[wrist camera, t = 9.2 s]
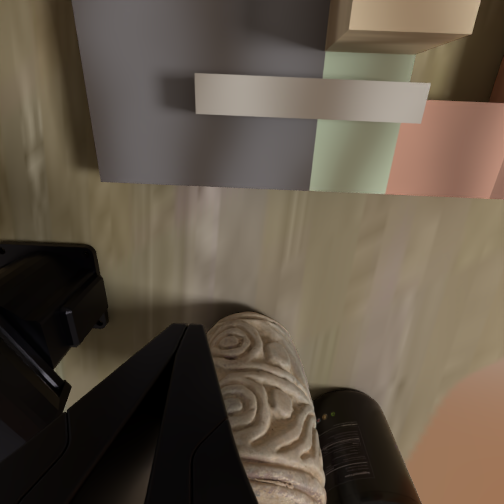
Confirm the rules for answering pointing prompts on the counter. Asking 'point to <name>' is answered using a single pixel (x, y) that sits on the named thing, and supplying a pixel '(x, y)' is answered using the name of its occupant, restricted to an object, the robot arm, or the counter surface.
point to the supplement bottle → (360, 452)
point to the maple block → (397, 25)
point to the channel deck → (272, 104)
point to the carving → (269, 408)
